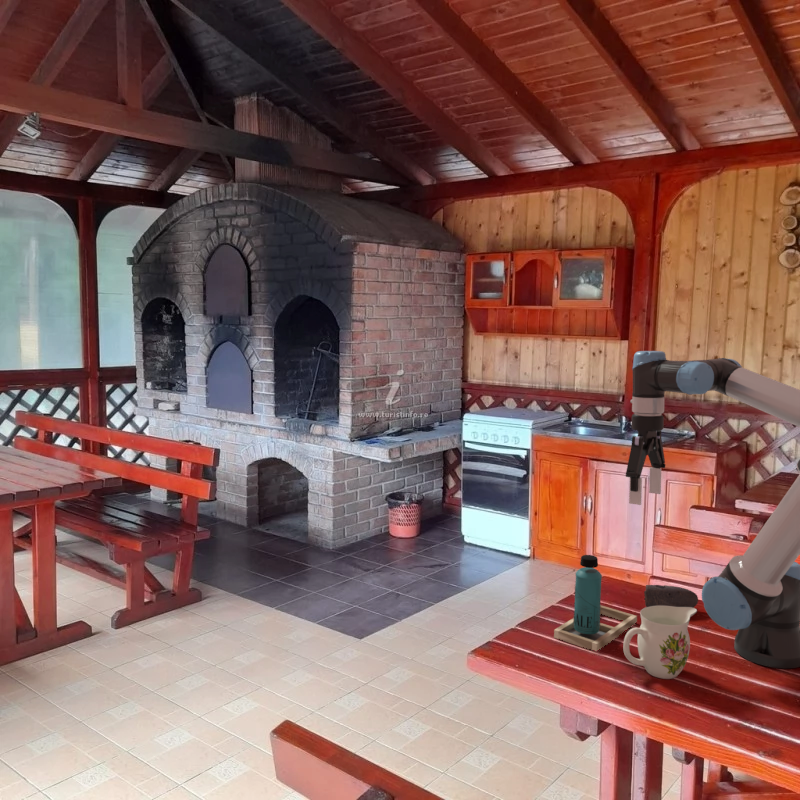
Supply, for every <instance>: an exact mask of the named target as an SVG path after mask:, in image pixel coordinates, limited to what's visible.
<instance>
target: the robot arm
mask: <svg viewBox="0 0 800 800" xmlns="http://www.w3.org/2000/svg"><path fill="white" fill-rule="evenodd" d="M666 356H667V354H666V352H665V351H663V350H662V351H661V350H639V351H636V352H635V353H634V355H633V361H632V369H631V370H632V392H631V393H632V395H631V396H632V397H631V398H632V399H630V402H629V403H630V404H632V405H631V412H633V414H632V415H631V426H630V427H631V429H632V430H634V431H637V436H635V435H633V436H631V437H632V438H631V446H630V451H629V455H628V462H627V466H626V471H625V477H626V478H629V491H628V492H629V493H628V495H629V496H628V497H629V499H628V501H629V502H628V503H629V504H630V505H631V504H632V505H637V506H638V505H639V506H641V505H642V493H643V492H642V491H643V489H642V488H643V477H641V475H642V473H643V469H644V465H645V463H646V459H647V456H648V459H649V462H650V466H651V467H649V484H648V485H649V487H648V489H649V491H648V493H649V494H657V495H661V491H662V490H661V489H662V469H665V468H666V464H665V463H666V461H665V453H664V446H663V440H662V431H663V430H664V426H665V425H664V421H665V416H664V414H663V413H665V392H669V393H670V392H671V393H679V394H686V395H703V394H704V395H705V394H706V393H708V392H712V391H713V392H714V391H715V392H717V393H719V394H721V395H724V396H726V397H728V398H732V399H734V400H736V401H738V402H741V403H743V404H744V405H745V404H746V405H748V406H751V408H755V409H756V410H758V411H759V410H760V411H762V412H763V413H766V414H768V415H771V416H773V417H775V418H777V419H780V420H782V421H785V422H786V423H789V424H792V425H794V426H796V427H798V428H800V389H799V388H796V387H794V386H791V385H788V384H786V383H783V382H781V381H778V380H775V379H773V378H770V377H768V376H765V375H763V374H759V373H757V372H754V371H752V370H750V369H748V368H744V367H743V366H742V365H741V364H740V363H739V362H738V361H737V360H735V359H733V358H725V357H719V358H712V359H694V360H668V359H667V357H666ZM796 470H797V472H798V474H799V475H797V477H796V479H795V480H794V482H793V483H792V484H791V486H790V488H789V489H788V490H787V491H786V493H785V494H784V496H783V497H782V499H781V500H780V502H779V503H778V505H777V506H776V508H775V509H774V510H773V511H772V514H771V515H770V517H769V518H768V519H767V520H766V522H765V523H764V524H763V526H762V528H761V529H760V531H759V532H758V533H757V535H756V536H755V538H754V539H753V540H752V542H751V544H750V545H749V546H748V548H747V549H746V550H745V551H744V554H742V555H739V554H738V555H734V556H733V557H732V558H731V559H729V561H728V563H727V564H726V566H725V567H724V568H723V570H722V571H721V573H720V574H719V575H717V576H712V577H711V578H709V579H708V580H707V581H706V582H705V583H704V584H703V586H702V590H701V600H702V603H703V607H704V611H706V613H707V615H708V616H709V618H710V619H711V620H712V621H713V622H714V623H715V624H716V625H717V626H719V627H721V628H723V629H725V630H729V631H737V630H738V631H737V633H736V635H735V637H734V643H733V645H734V650H735V652H736V653H737V654H738V655H739V656H740V657H742V658H744V659H745V660H748V661H749V662H752V663H755V664H757V665H761V666H765V667H769V668H773V669H774V668H775V669H795V668H796V669H797V668H800V563H798V562H796V560H797V559H798V558H799V556H800V459H799V460H798V461H797V463H796Z"/></svg>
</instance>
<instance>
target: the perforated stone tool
mask: <svg viewBox="0 0 800 800" xmlns="http://www.w3.org/2000/svg"><path fill="white" fill-rule="evenodd" d="M643 594H644V602H645V603H644V605H645V608H646V607H650V606H673V607H692V608H695V607H696V606H697V605H698V604H699V597H698V595H697V593H695V592H694V591H692V590H691V589H689V588H685V587H684V588H683V587H679V586H676V585H675V586H674V585H666V584H664V585H663V584H662V585H661V584H646V585H645V590H644V593H643Z"/></svg>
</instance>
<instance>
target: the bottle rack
mask: <svg viewBox="0 0 800 800" xmlns="http://www.w3.org/2000/svg"><path fill="white" fill-rule="evenodd" d="M600 614H602V615H601V616H604V615H605V617H607V616H608V618H610V617H612V618H611V619H614V618H615V619H614V620H617V619H618V621H620V620H623V621H620V623H618V624H617V625H615V626H612V625H608V624H606V623H602V622H600V629H599V632H598V633H595V634H583V633H580V632H578V631H576V630H575V629H574V626H573V625H574V624H573V623H574V622H573V619H574V617H573V618H571V619H570V620H567V621H566V622H565V623H563V624H562V625H560V626H558V627H556V628H555V629H553V633H554V634H553V638H554V639H557V640H559V639H560V641H562V640H563V642H564V643H565V642H566V643H569V644H571V645H574V646H578V647H580V648H583V647H584V648H583V649H586V648H587V649H586V650H589V649H591V650H590V651H592V650H595V651H597V650H599V649H600V650H602V649H603V648H605V647H604V646H605V645H606V646H607V645H609V644H611V641H612V640H613V641H614V640H616V639H617V638H618V637H620V636H621V635H623V634H624V633H625V632H626V631H625V630H627V629H628V628H630V627H631V626H632V625H634V624H635V623H636V622H637V623H638V615H634V614H632V613H628V612H625V611H621V610H620V609H619V610H618V609H615V608H611V607H608V606H605V605H601V604H600ZM635 625H636V624H635ZM635 625H634V626H635ZM632 627H633V626H632ZM632 627H631V628H632ZM631 628H630V629H631ZM628 630H629V629H628ZM628 630H627V631H628ZM624 631H625V632H624ZM623 632H624V633H623ZM622 633H623V634H622ZM620 634H621V635H620ZM619 635H620V636H619ZM615 638H616V639H615ZM613 641H612V642H613ZM608 643H609V644H608ZM602 647H603V648H602ZM601 648H602V649H601ZM600 650H599V651H600Z"/></svg>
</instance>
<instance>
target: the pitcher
mask: <svg viewBox="0 0 800 800" xmlns="http://www.w3.org/2000/svg"><path fill="white" fill-rule="evenodd" d="M697 612H698V610H697V608H695V607H694V608H692V607H673V606H650V607H646V606H645V607H644V608H642V609H640V611H639V613H640V619H641V624H640V626H639V627H633V628H632V627H631V628H630V629H628V630H627V631H626V634H625V636H624V638H623V648H622V649H623V650H622V651H623V653H624V656H625V658H626V659H627V660H628V661H629V663H631V664H633V665H635V666H639V667H641V666H643V667H644V669H645V670H646V673H648V674H649V675H650V676H653V677H655V678H658V679H663V680H670V679H675V678H677V677H678V675H680V674H681V672H683V669H684V668H685V667H686V664H687V663H688V662H687V661H688V659H689V654H690V649H691V639H690V634H689V631H688V627H689V623H690V620H691V617H693V616H694V615H695V614H696V613H697ZM635 635H637V642H636V643H637V651H638V656H639V658H636V657H634V656H633V655H632V654H631V651H630V643H631V640H632V638H633V637H634V636H635Z"/></svg>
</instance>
